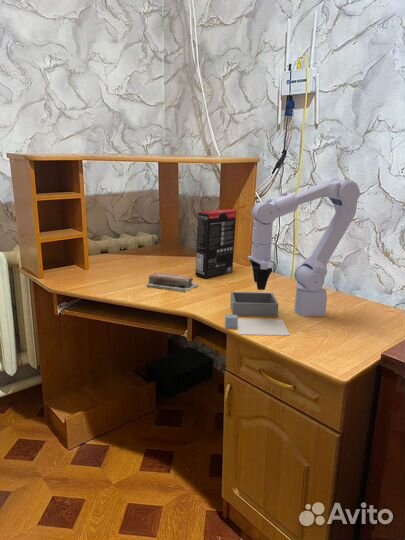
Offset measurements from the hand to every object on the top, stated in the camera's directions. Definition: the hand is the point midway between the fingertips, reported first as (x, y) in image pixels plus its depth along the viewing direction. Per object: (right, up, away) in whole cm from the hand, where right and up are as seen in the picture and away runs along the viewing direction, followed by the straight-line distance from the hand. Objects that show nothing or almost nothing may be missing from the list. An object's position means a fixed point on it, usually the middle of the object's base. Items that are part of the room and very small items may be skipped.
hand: (259, 285), depth 131 cm
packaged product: (-29, -2, +32) cm, 43 cm away
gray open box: (-1, -9, +7) cm, 11 cm away
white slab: (-2, -13, -7) cm, 15 cm away
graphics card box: (-12, +3, +49) cm, 51 cm away
